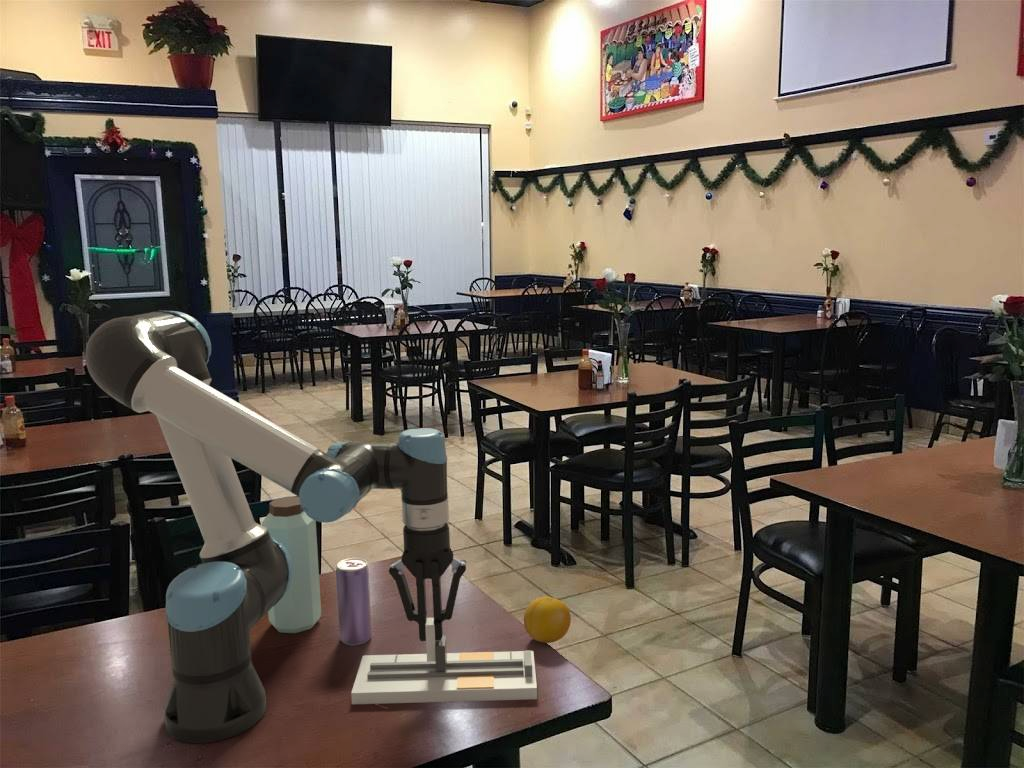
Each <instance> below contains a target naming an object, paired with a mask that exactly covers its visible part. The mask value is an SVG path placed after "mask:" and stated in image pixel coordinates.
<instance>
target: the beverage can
mask: <svg viewBox="0 0 1024 768" xmlns="http://www.w3.org/2000/svg"><path fill="white" fill-rule="evenodd" d="M369 569H370V568H369V566H368V561H367V560H365V559H363V558H360V557H358V558H357V557H352V558H351V557H350V558H346V559H343V560H340V561H339V562H337V563H336V569H335V578H336V595H337V598H336V599H337V614H338V615H337V616H338V628H339V629H338V632H339V639H340V641H341V642H342V643H343V644H344V645H346V646H352V647H353V646H361V645H364V644H366V643H367V642H368V641H370V639H371V638H372V636H373V633H372V632H373V631H372V629H373V628H372V611H371V610H372V609H371V608H372V607H371V593H370V592H371V589H370V587H371V586H370V570H369Z"/></svg>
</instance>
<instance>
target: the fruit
mask: <svg viewBox="0 0 1024 768" xmlns="http://www.w3.org/2000/svg"><path fill="white" fill-rule="evenodd" d="M571 620H572V619H571V613H570V609H569V607H568V606H567V604H565V602H563V601H561V600H560V599H558V598H555V597H552V596H546V595H545V596H544V595H543V596H540V597H537V598H535V599H533V600H532V601H531V602H530V603H529V604H528V606H527V607H526V608H525V611H524V614H523V625H524V628H525V630H526V631H525V632H526V633H527V634H528V635H529V636H530V637H531V638H532V639H533V640H535V641H537V642H539V643H546V644H548V643H555V642H557V641H559V640H561V639H562V638H564V636H565V635H566V634H567V632H568V631H569V629H570V626H571Z"/></svg>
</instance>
